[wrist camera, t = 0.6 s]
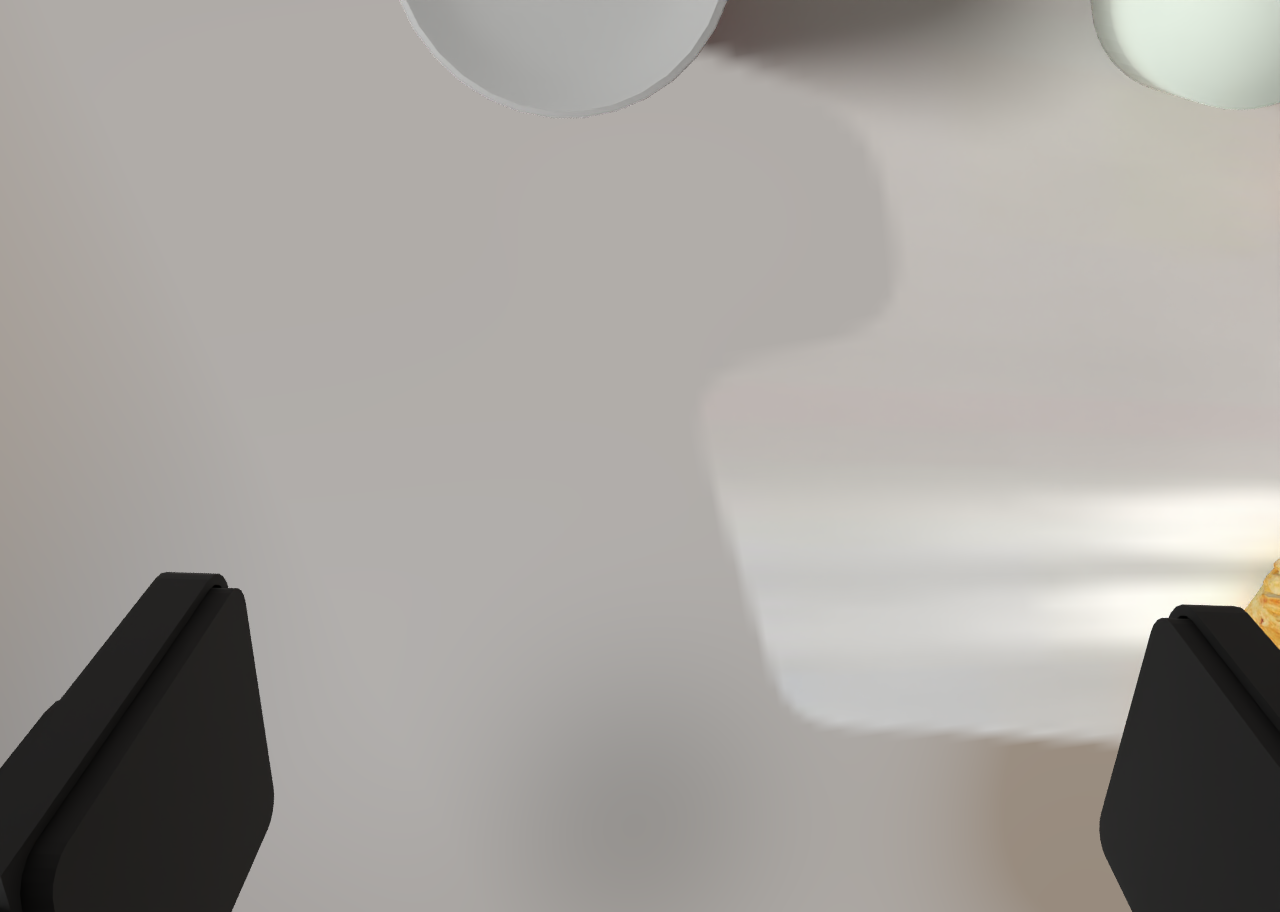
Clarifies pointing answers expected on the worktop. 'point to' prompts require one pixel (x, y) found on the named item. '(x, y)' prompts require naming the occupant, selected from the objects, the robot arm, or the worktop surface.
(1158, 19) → the pale green dome
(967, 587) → the worktop surface
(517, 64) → the canned food
